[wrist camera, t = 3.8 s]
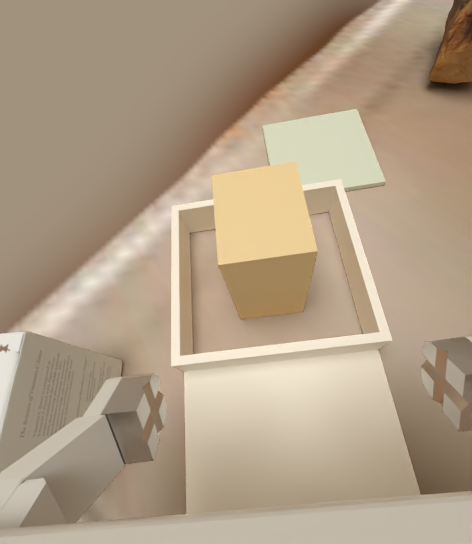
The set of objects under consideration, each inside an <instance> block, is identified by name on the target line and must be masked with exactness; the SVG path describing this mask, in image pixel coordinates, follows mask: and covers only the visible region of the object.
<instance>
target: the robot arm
mask: <svg viewBox="0 0 472 544" xmlns="http://www.w3.org/2000/svg"><path fill="white" fill-rule="evenodd" d="M422 355H423V356H424V357H425V358H426V359H427V360H426V361H425V362H424V364H423V365H422V366H421V378H422V381H423V385H424V387H425V389H426V391H427V393H428V394H429V395H430V397H431V398H432V399H433V400H435V401H437V402H439V403H441V404H443V413H444V414H445V415H446V416H447V418H448V419H449V420H450V421H451V422H452V424H453V425H454V426H455V427H456V429H457V430H458V431H472V335H469V336H462V337H459V338H451V339H443V340H435V341H427V342H424V344H423V346H422ZM159 387H160V381H159V378H158V375H156V374H155V373H153V374H142V375H132V376H125V377H124V376H122V377H113V378H109V379H107V380H106V381H105V383H104V384H103V386H102V387H101V389H100V390H99V392H98V394H97V395H96V397H95V398H94V400H93V401H92V403H91V404H90V406H89V407H88V409H87V411H86V412H85V414H84V415H83V417H79V418H76V419H75V420H73V421H72V422H71V423H69V424H68V425H66V426H65V427H64V428H62V429H61V430H59V431H58V432H57V433H55V434H54V435H52V436H51V437H50V438H48V439H47V440H45V441H44V442H43V443H41V444H40V445H38V446H37V447H36V448H34V449H33V450H31V451H30V452H29V453H27V454H26V455H24V456H23V457H22V458H20V459H19V460H17V461H16V462H15V463H13V464H12V465H10V466H9V467H8V468H6V469H5V470H3V471H2V472H1V473H0V544H472V491H461V492H449V493H437V494H424V495H412V496H400V497H387V498H375V499H363V500H351V501H338V502H326V503H314V504H302V505H289V506H277V507H265V508H252V509H240V510H228V511H216V512H203V513H191V514H179V515H167V516H154V517H142V518H130V519H118V520H105V521H93V522H81V523H76V522H77V521H78V520H79V519H80V518H81V516H82V515H83V514H84V513H85V512H86V511H87V509H88V508H89V507H90V506H91V505H92V504H93V502H94V501H95V500H96V499H97V498H98V497H99V495H100V494H101V493H102V492H103V491H104V490H105V488H106V487H107V486H108V485H109V484H110V483H111V481H112V480H113V479H114V478H115V477H116V476H117V474H118V473H119V472H120V471H121V470H122V469H123V467H124V466H125V465H124V464H131V463H139V462H146V461H153V460H154V457H155V454H156V451H157V448H158V444H159V441H160V439H159V436H158V432H159V431H160V430H162V429H163V428H164V424H165V421H166V412H167V408H166V401H165V397H164V395H163V394H162V393H160V392H159V391H158V390H159Z"/></svg>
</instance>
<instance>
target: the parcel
mask: <svg viewBox="0 0 472 544" xmlns="http://www.w3.org/2000/svg"><path fill="white" fill-rule="evenodd" d="M212 188H213V202H214V215H215V229H216V242H217V256H218V266H219V268H220V271H221V273H222V275H223V278H224V280H225V283H226V285H227V287H228V290H229V292H230V295H231V297H232V299H233V302H234V304H235V307H236V309H237V311H238V314H239V316H240V319H241V320H243V319H250V318H258V317H266V316H274V315H282V314H290V313H298V312H303V311H304V307H305V303H306V298H307V294H308V290H309V286H310V282H311V277H312V273H313V269H314V265H315V261H316V256H317V252H318V250H317V246H316V242H315V238H314V233H313V229H312V225H311V221H310V217H309V213H308V208H307V204H306V200H305V196H304V192H303V188H302V184H301V179H300V175H299V171H298V167H297V163H296V161H295V162H289V163H283V164H277V165H271V166H265V167H259V168H253V169H247V170H241V171H235V172H229V173H223V174H217V175H212Z"/></svg>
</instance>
